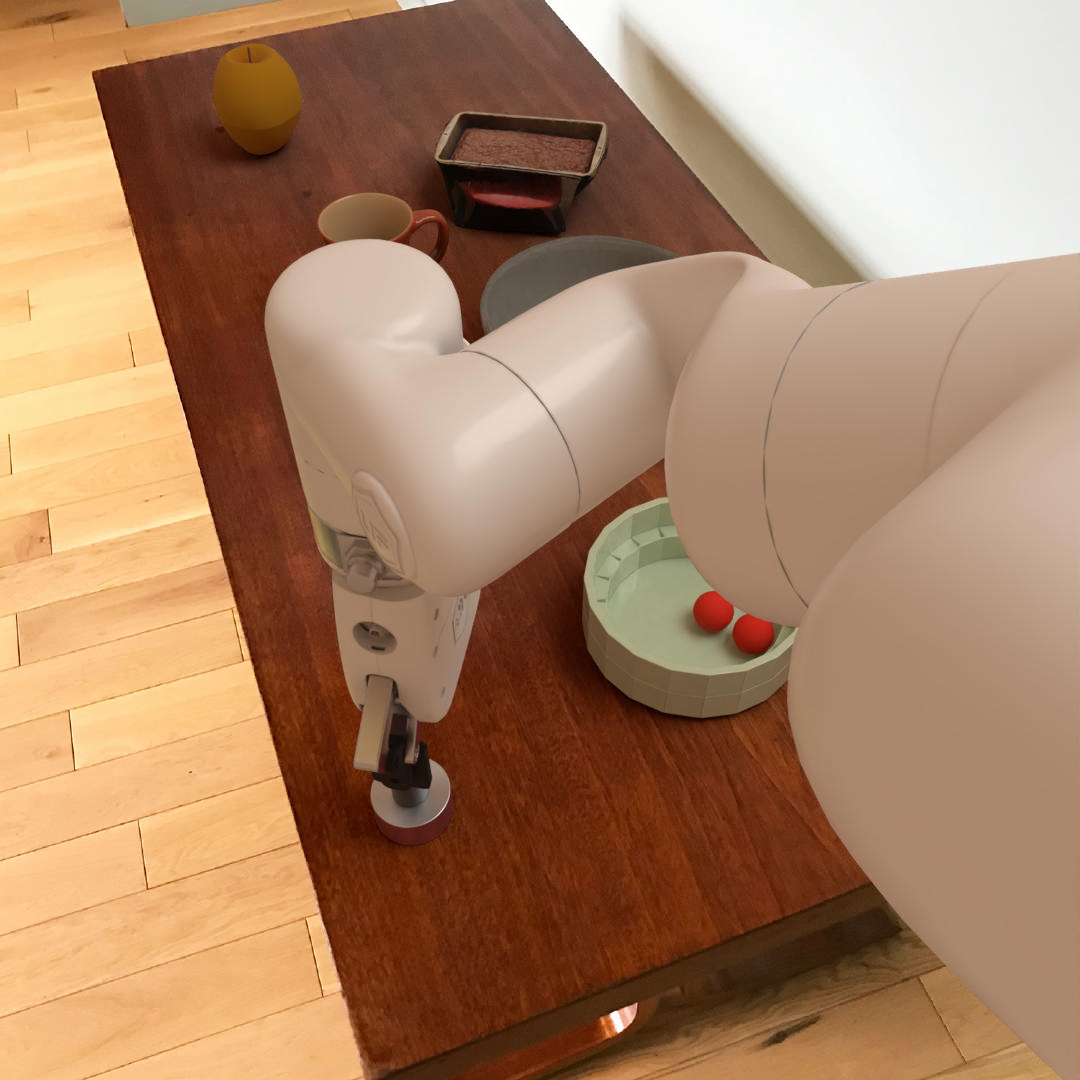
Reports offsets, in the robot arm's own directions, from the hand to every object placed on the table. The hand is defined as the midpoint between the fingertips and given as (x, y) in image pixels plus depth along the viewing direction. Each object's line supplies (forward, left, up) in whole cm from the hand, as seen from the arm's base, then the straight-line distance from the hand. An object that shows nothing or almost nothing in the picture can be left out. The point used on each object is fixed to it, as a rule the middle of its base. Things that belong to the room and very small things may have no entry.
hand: (424, 706), depth 64 cm
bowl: (+44, -4, -14) cm, 46 cm away
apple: (+78, +39, -14) cm, 88 cm away
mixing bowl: (+18, -15, -13) cm, 27 cm away
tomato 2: (+17, -19, -11) cm, 28 cm away
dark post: (0, +2, -13) cm, 14 cm away
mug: (+52, +17, -14) cm, 56 cm away
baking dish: (+72, +8, -14) cm, 74 cm away
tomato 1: (+18, -16, -11) cm, 27 cm away
